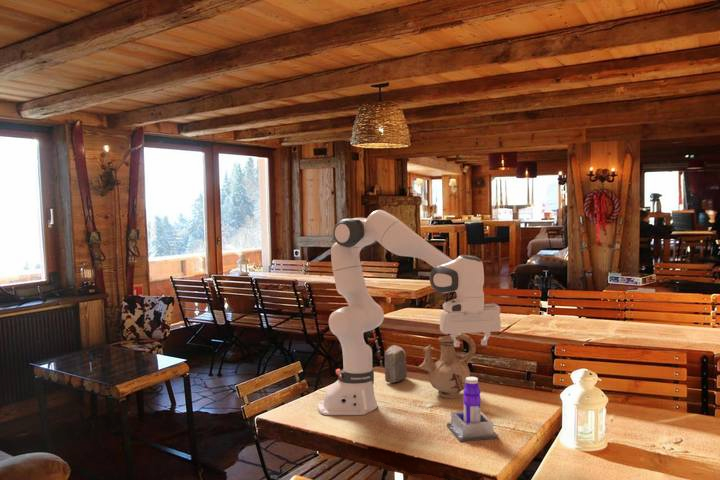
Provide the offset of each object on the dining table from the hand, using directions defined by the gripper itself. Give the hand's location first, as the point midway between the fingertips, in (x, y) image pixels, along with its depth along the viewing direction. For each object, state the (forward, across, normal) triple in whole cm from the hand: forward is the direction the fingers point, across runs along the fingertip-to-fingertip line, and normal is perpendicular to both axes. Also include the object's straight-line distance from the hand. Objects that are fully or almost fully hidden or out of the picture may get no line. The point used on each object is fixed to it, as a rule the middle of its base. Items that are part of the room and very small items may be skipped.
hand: (470, 345), depth 183 cm
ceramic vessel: (+29, -4, -38) cm, 48 cm away
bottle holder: (+29, 0, 0) cm, 29 cm away
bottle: (+28, 0, +1) cm, 28 cm away
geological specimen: (+29, +12, -60) cm, 67 cm away
